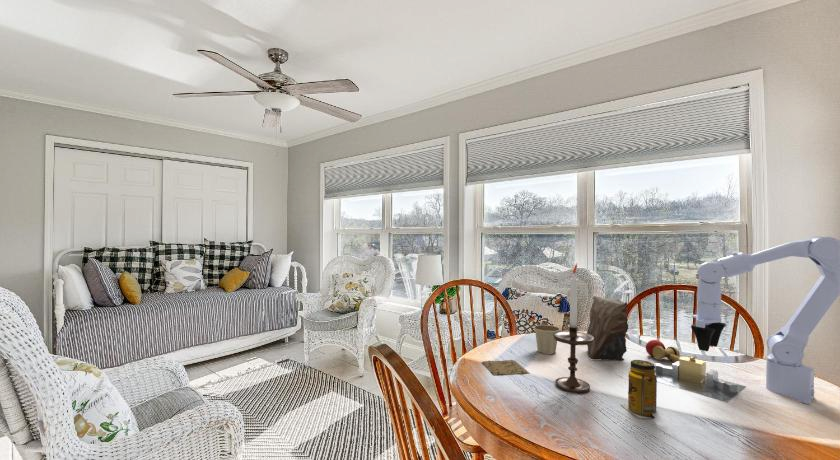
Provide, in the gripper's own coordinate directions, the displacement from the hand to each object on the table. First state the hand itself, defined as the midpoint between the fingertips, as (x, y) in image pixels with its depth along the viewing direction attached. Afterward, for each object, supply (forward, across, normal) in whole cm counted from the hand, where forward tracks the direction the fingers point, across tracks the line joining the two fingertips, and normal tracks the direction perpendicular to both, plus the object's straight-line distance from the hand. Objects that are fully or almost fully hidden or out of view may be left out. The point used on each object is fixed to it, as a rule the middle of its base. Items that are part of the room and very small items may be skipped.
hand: (708, 348), depth 117 cm
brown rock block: (+10, +5, -30) cm, 32 cm away
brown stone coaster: (+10, +42, -42) cm, 60 cm away
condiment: (+10, +37, -2) cm, 38 cm away
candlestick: (+10, +38, -21) cm, 44 cm away
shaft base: (+9, +8, -2) cm, 12 cm away
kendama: (+10, -7, -13) cm, 17 cm away
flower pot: (+10, +17, -44) cm, 48 cm away
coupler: (+9, +6, -2) cm, 11 cm away
